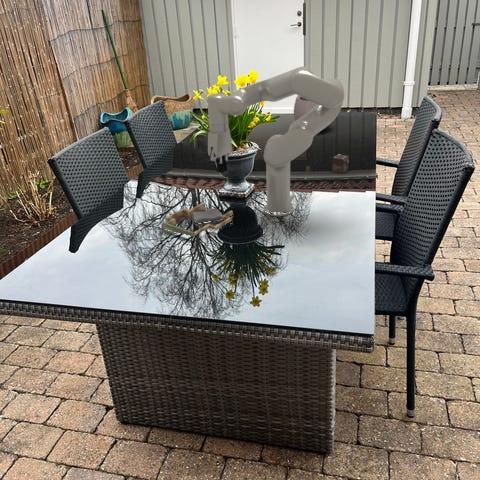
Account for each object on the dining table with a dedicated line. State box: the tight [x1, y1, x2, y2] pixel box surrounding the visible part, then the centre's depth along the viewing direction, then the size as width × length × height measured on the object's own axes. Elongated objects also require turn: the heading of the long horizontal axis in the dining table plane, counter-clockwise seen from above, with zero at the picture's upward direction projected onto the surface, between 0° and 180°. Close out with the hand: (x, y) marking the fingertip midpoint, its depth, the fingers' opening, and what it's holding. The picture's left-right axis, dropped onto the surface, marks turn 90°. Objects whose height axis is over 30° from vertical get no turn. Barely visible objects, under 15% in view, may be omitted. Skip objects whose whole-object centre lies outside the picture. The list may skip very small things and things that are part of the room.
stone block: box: [191, 208, 223, 228], centre depth 194 cm, size 12×5×10 cm
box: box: [331, 153, 350, 174], centre depth 234 cm, size 6×6×7 cm
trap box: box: [162, 202, 234, 236], centre depth 190 cm, size 24×23×4 cm
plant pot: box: [293, 95, 328, 130], centre depth 291 cm, size 24×24×30 cm
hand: (222, 171), depth 194 cm, fingers closed
